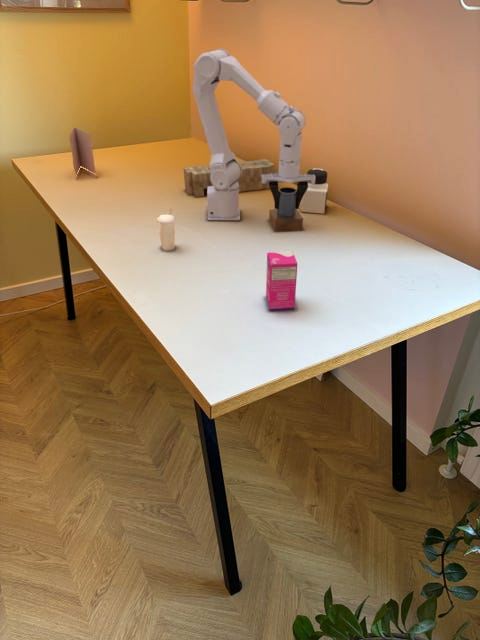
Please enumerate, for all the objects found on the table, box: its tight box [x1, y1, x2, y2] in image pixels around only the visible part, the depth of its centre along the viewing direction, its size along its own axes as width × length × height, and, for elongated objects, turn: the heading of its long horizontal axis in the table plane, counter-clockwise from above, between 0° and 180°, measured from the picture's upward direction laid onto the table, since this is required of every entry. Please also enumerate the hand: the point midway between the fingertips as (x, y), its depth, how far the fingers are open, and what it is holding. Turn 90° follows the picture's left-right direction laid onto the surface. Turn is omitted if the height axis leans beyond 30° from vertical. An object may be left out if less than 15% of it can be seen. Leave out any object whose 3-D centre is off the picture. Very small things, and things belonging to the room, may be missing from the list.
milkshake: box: [156, 207, 176, 252], centre depth 134 cm, size 5×5×10 cm
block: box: [268, 208, 304, 233], centre depth 149 cm, size 8×8×4 cm
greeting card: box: [68, 127, 97, 181], centre depth 181 cm, size 11×7×15 cm, turn 6°
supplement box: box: [265, 250, 298, 312], centre depth 111 cm, size 6×6×12 cm
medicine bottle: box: [300, 168, 329, 215], centre depth 157 cm, size 7×7×12 cm
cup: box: [277, 186, 297, 218], centre depth 146 cm, size 5×5×7 cm
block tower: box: [183, 158, 275, 198], centre depth 172 cm, size 8×8×29 cm
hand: (286, 207), depth 147 cm, fingers closed on cup, 5 cm apart
